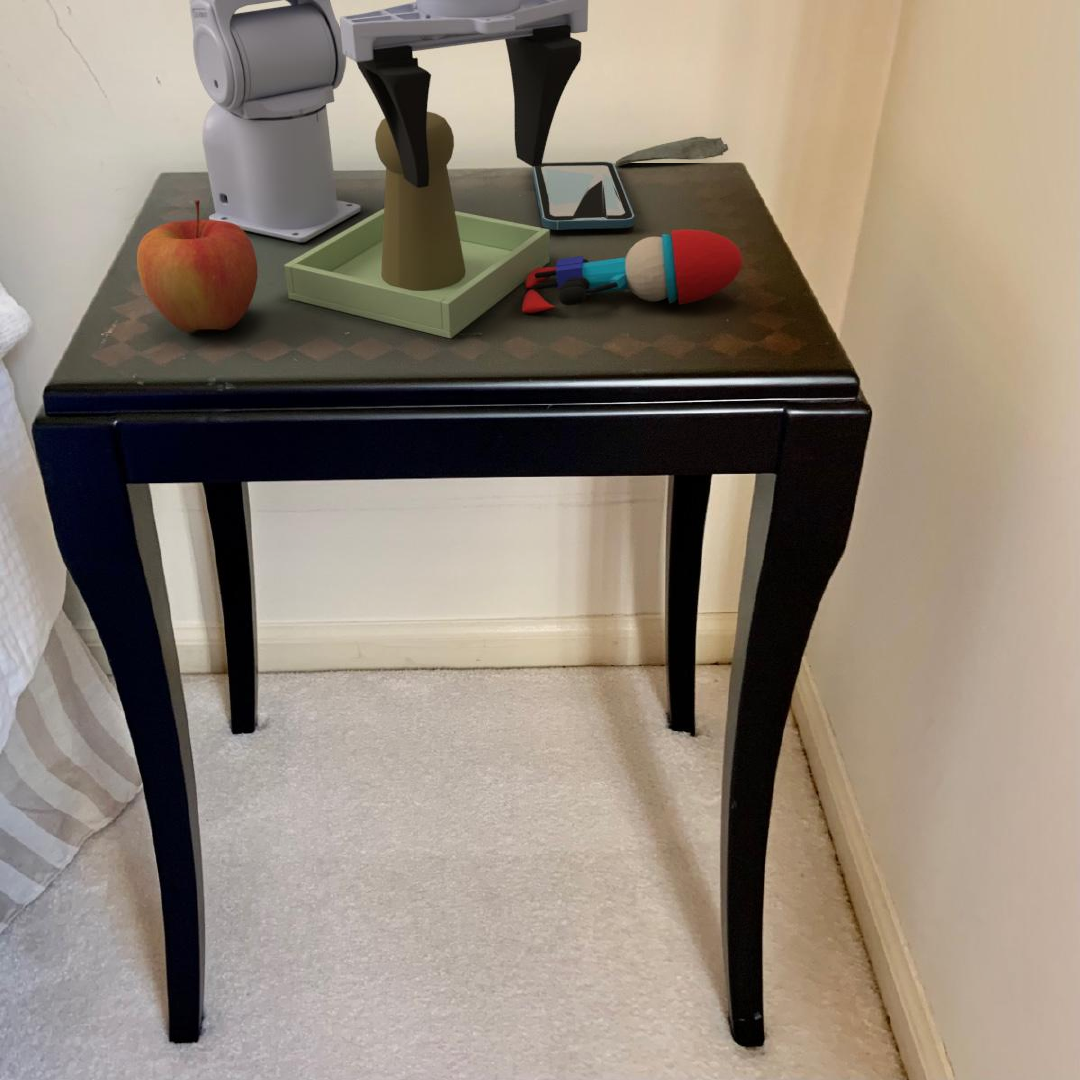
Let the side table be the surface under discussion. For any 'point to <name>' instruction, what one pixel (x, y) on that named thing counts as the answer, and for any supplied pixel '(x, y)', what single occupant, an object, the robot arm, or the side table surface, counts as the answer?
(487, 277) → the spice tray
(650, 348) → the side table surface
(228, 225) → the apple
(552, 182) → the smartphone
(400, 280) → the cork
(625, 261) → the toy figure
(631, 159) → the stone
